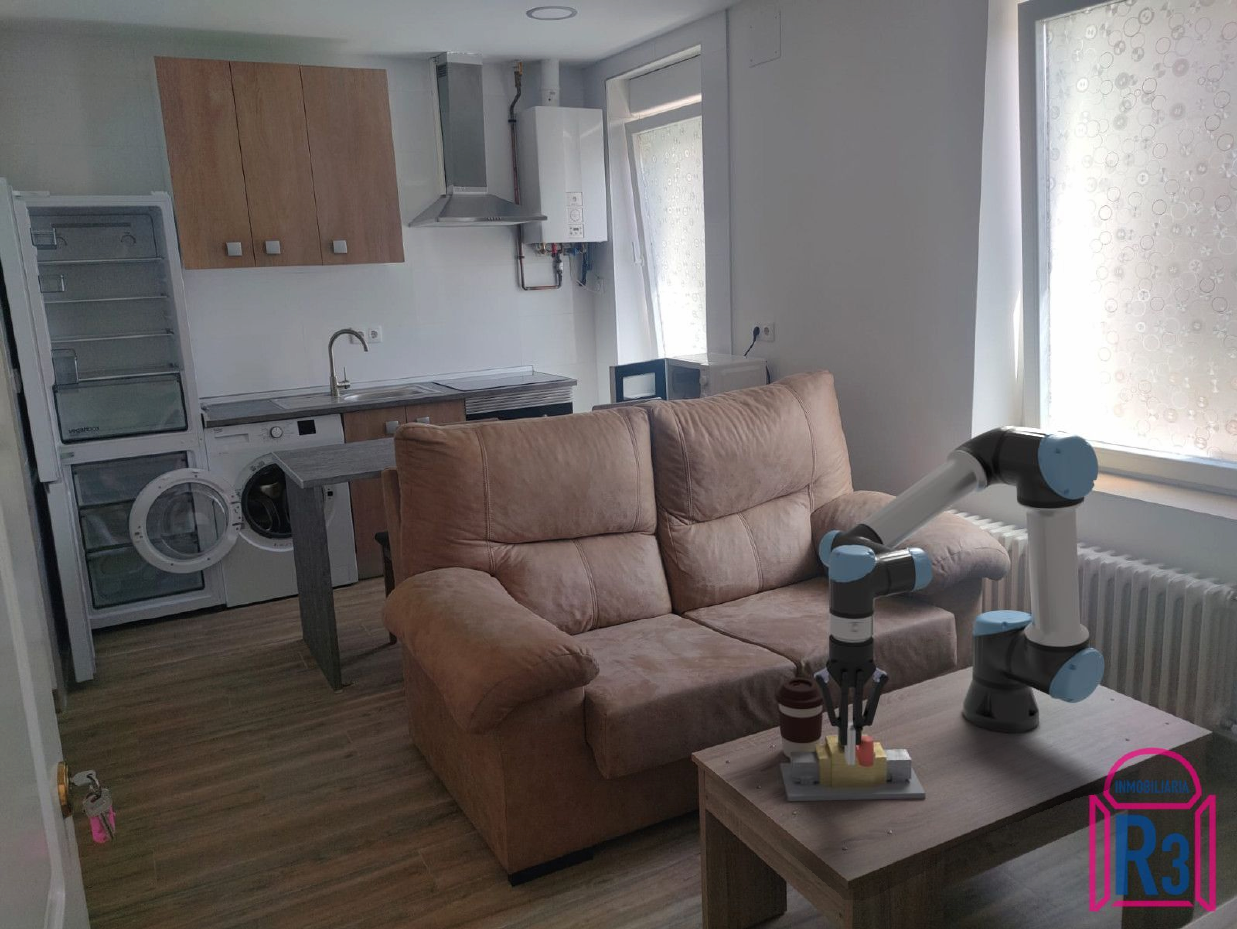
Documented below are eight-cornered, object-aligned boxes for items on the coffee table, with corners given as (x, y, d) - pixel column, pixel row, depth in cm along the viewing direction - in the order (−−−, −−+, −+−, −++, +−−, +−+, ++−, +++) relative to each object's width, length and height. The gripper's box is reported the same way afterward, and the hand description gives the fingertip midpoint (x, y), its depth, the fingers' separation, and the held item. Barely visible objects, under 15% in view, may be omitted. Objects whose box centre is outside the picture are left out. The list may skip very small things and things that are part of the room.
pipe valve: (903, 766, 179) (903, 733, 178) (913, 786, 172) (913, 751, 171) (789, 769, 180) (788, 736, 179) (794, 788, 174) (793, 754, 172)
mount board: (908, 764, 182) (908, 760, 182) (925, 798, 170) (925, 793, 170) (780, 768, 183) (780, 763, 183) (788, 801, 171) (788, 796, 171)
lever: (835, 737, 177) (834, 709, 176) (857, 736, 177) (857, 708, 176) (856, 774, 164) (855, 744, 163) (880, 772, 164) (880, 742, 163)
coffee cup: (826, 766, 183) (825, 696, 180) (775, 764, 185) (774, 694, 182) (825, 742, 192) (824, 674, 189) (777, 740, 194) (775, 673, 191)
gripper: (817, 644, 156) (816, 772, 161) (894, 642, 156) (891, 771, 160) (810, 628, 164) (810, 751, 168) (883, 626, 163) (881, 750, 167)
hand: (849, 760), depth 164 cm, fingers closed
